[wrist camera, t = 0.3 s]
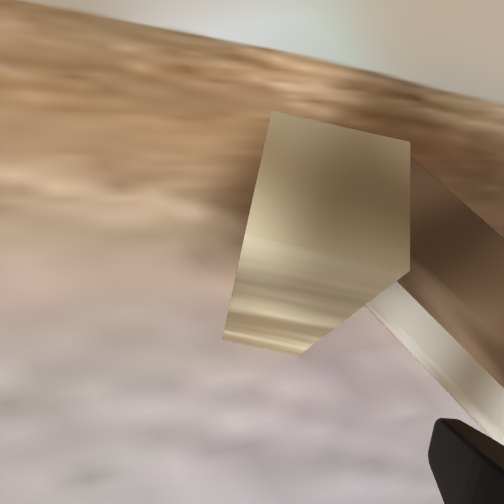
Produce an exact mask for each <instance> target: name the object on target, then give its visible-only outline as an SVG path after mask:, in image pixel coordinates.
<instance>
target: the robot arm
mask: <svg viewBox="0 0 504 504" xmlns="http://www.w3.org/2000/svg"><path fill="white" fill-rule="evenodd" d="M428 460H429V464H430V467H431V470H432V472H433V475H434V477H435V480H436V483H437V485H438V488H439V491H440V493H441V496H442V498H443V501H444V504H504V445H502V444H500V443H499V442H497V441H495V440H493V439H492V438H490V437H488V436H487V435H485V434H483V433H481V432H480V431H478V430H476V429H474V428H473V427H471V426H469V425H467V424H466V423H464V422H462V421H460V420H458V419H448V418H439V419H438V420H436V422H435V424H434V428H433V433H432V437H431V442H430V446H429V451H428Z"/></svg>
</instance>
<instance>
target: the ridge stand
mask: <svg viewBox="0 0 504 504" xmlns="http://www.w3.org/2000/svg"><path fill="white" fill-rule="evenodd" d="M366 306H367V307H368V308H369V309H370V310H371V311H372V312H373V313H374V314H375V316H376V317H377V318H378V319H379V320H380V321H381V322H382V323H383V324H384V325H385V326H386V327H387V328H388V329H389V330H390V331H391V332H392V333H393V334H394V335H395V337H396V338H397V339H398V340H399V341H400V342H401V343H402V344H403V345H404V346H405V347H406V348H407V349H408V350H409V351H410V352H411V353H412V354H413V355H414V356H415V358H416V359H417V360H418V361H419V362H420V363H421V364H422V365H423V366H424V367H425V368H426V369H427V370H428V371H429V372H430V373H431V374H432V375H433V376H434V377H435V379H436V380H437V381H438V382H439V383H440V384H441V385H442V386H443V387H444V388H445V389H446V390H447V391H448V392H449V393H450V394H451V395H452V396H453V397H454V398H455V400H456V401H457V402H458V403H459V404H460V405H461V406H462V407H463V408H464V409H465V410H466V411H467V412H468V413H469V414H470V415H471V416H472V417H473V418H474V419H475V421H476V422H477V423H478V424H479V425H480V426H481V427H482V428H483V429H484V430H485V431H486V432H487V433H488V434H489V435H490V436H491V437H492V438H493V439H494V440H495V441H497V442H499V443H500V444H502V445H504V238H503V237H502V236H500V235H499V234H498V233H497V232H496V231H495V230H494V229H492V228H491V227H490V226H489V225H488V224H487V223H486V222H484V221H483V220H482V219H481V218H480V217H479V216H478V215H477V214H475V213H474V212H473V211H472V210H471V209H470V208H469V207H467V206H466V205H465V204H464V203H463V202H462V201H461V200H459V199H458V198H457V197H456V196H455V195H454V194H453V193H451V192H450V191H449V190H448V189H447V188H446V187H445V186H444V185H442V184H441V183H440V182H439V181H438V180H437V179H436V178H434V177H433V176H432V175H431V174H430V173H429V172H428V171H426V170H425V169H424V168H423V167H422V166H421V165H420V164H419V163H417V162H416V161H415V160H414V159H413V158H412V157H411V156H410V271H409V272H408V273H406V274H405V275H404V276H402V277H401V278H400V279H398V280H397V281H396V282H395V283H393V284H392V285H391V286H389V287H388V288H387V289H385V290H384V291H383V292H381V293H380V294H379V295H377V296H376V297H375V298H374V299H372V300H371V301H370V302H368V303H367V304H366Z"/></svg>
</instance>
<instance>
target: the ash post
mask: <svg viewBox="0 0 504 504" xmlns="http://www.w3.org/2000/svg"><path fill="white" fill-rule="evenodd" d="M409 271H410V142H408V141H404V140H399V139H395V138H391V137H386V136H382V135H377V134H373V133H369V132H364V131H360V130H355V129H351V128H346V127H342V126H338V125H333V124H329V123H324V122H320V121H316V120H311V119H307V118H302V117H298V116H294V115H289V114H285V113H280V112H276V111H272V112H271V116H270V121H269V126H268V130H267V135H266V139H265V144H264V149H263V153H262V158H261V162H260V167H259V171H258V176H257V181H256V185H255V190H254V194H253V199H252V204H251V208H250V213H249V217H248V222H247V227H246V231H245V236H244V240H243V245H242V250H241V255H240V259H239V264H238V269H237V273H236V278H235V283H234V288H233V292H232V297H231V302H230V306H229V311H228V316H227V321H226V325H225V330H224V335H223V340H226V341H231V342H235V343H240V344H245V345H250V346H254V347H259V348H264V349H269V350H273V351H278V352H283V353H288V354H292V355H297V356H299V355H300V354H301V353H303V352H304V351H305V350H307V349H308V348H309V347H311V346H312V345H313V344H315V343H316V342H317V341H318V340H320V339H321V338H322V337H324V336H325V335H326V334H328V333H329V332H330V331H332V330H333V329H334V328H336V327H337V326H338V325H339V324H341V323H342V322H343V321H345V320H346V319H347V318H349V317H350V316H351V315H353V314H354V313H355V312H357V311H358V310H359V309H360V308H362V307H363V306H364V305H366V304H367V303H368V302H370V301H371V300H372V299H374V298H375V297H376V296H377V295H379V294H380V293H381V292H383V291H384V290H385V289H387V288H388V287H389V286H391V285H392V284H393V283H395V282H396V281H397V280H398V279H400V278H401V277H402V276H404V275H405V274H406V273H408V272H409Z"/></svg>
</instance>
